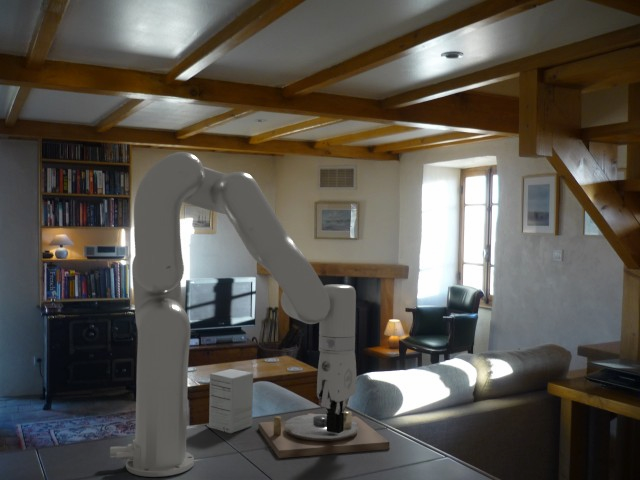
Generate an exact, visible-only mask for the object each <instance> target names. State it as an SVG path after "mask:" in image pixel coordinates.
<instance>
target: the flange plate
mask: <svg viewBox="0 0 640 480" xmlns="http://www.w3.org/2000/svg"><path fill="white" fill-rule="evenodd" d="M343 413H344V430H343V432H341V433H333V432H328V431H327V413H325V414H322V413H312V412H310V413H309V412H308V413H307V414H301V415H298V416H294V417H291V418H289V419H288V420H285V421H286V423H285V431H286V432H287V433H288V434H289V435H291V436H294V437H297V438H301V439H306V440H313V441H335V440H342V439H346V438H350V437H352V436H354V435H355V434H356V433H357V432H358V424H357V423H356V422H355V421H353V420H352V416H353V412H352V411H351V410H345V411H344V412H343Z"/></svg>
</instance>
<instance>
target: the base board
mask: <svg viewBox="0 0 640 480" xmlns="http://www.w3.org/2000/svg"><path fill="white" fill-rule="evenodd" d="M352 420H353V421H355V422H356V423H357V424H358V432H357V433H356V434H355V435H354V436H352V437H350V438H346V439H342V440H335V441H313V440H306V439H301V438H297V437H294V436H291V435H289V434H288V433H287V432H286V431H285V423H286V421H287V420H282V416H278V415H276V416H274V417H273V421H261V422H258V430H259V432H260V433H261V434H262V436H263V437H264V439H265V440H266V442H267V444H268V445H269V447H270V448H271V449H272V450H273V451H274V453H275V454H276V456H277V457H278V459H281V458H282V459H283V458H297V457H308V456H320V455H321V456H323V455H333V454H334V455H335V454H342V453H343V454H344V453H346V454H347V453H355V452H357V453H358V452H370V451H379V450H380V451H381V450H382V451H383V450H390V441H389V440H388V439H386V438H385V437H384V436H382V435H381V434H380V433H378V432H377V431H376V430H375V429H373V428H372V427H371V426H370V425H369V424H367V423H366V422H364V421H363V420H362V419H361V418H359V417H358V416H357V415H356V416H355V415H354V416H353V415H352Z"/></svg>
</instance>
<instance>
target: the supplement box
mask: <svg viewBox="0 0 640 480" xmlns="http://www.w3.org/2000/svg"><path fill="white" fill-rule="evenodd" d="M253 393H254V372H251V371H250V372H249V371H244V370H240V369H239V370H238V369H234V368H229V369H224V370H220V371H217V372H212V373H211V372H210V373H209V402H208V403H209V406H208V407H209V409H208V410H209V411H208V412H209V415H208V419H209V420H208V427H209V428H211V429H213V430H217V431H220V432H224V431H225V432H224V433H228V432H229V433H228V434H234V433H235V432H239V431H241V430H244V429H247V428H251V427H253V404H254V403H253V401H254V400H253V399H254V397H253V396H254V394H253Z"/></svg>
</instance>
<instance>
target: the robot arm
mask: <svg viewBox="0 0 640 480" xmlns="http://www.w3.org/2000/svg"><path fill="white" fill-rule="evenodd" d="M183 203H185V204H188V205H191V206H194V207H198V208H201V209H204V210H208V211H211V212H215V213H220V214H222V215H223V214H224V215H226V217H227V218H228V219H229V221H230V223H231V225H232V226H233V227H234V229H235V231H236V233H237V234H238V236H239V238H240V239H241V241H242V243H243V246H245V248H246V250H247V252H248V253H249V254H250V256H251V257H252V259H254V260H255V262H257V263H258V264H259V265H260V266H261V267H262V268H264V269H265V270H266V271H267V272H268V273H269V274H270V275H271V276H272V278H273V279H274V280H275V282H276V284H278V286H279V287H280V288H281V290H282V293H281V297H280V305H281V308H282V310H283V311H284V313H285V314H286V315H287V316H288V317H290V318H291V319H295V320H297V321H300V322H302V323H304V324H307V325H315V324H318V323H319V324H318V325H319V327H318V329H319V331H318V334H319V335H318V351H319V356H318V357H319V358H318V359H319V360H318V366H317V378H316V379H317V380H316V382H317V383H316V396H317V398H318V399H319V400H321V403H320V405H321V406H320V407H321V409H323V408H324V409H325V414H327V431H328V432H333V433H341V432H343V430H344V413H343V412H344V411H346V402H347V400H348V399H349V398H351V397H353V396H355V394H356V393H357V390H358V389H357V384H358V383H357V361H356V360H357V359H356V353H355V350H356V306H357V303H356V301H357V294H356V293H357V292H356V289H355V287H354V286H352V285H350V284H341V283H340V284H338V283H337V284H332V283H331V284H325V285H324V284H323V282H322V280H321V279H320V278H319V275H318V274H317V272H316V271H315V268H314V267H313V266H312V264H311V263H310V262H309V259H307V258H306V256H305V255H304V254H303V252H302V251H301V250H300V248H299V247H298V246H297V244H296V243H295V241H294V240H293V239H292V238H291V236H290V235H289V234H288V232H287V231H286V229H285V228H284V227H283V224H282V223H281V221H280V219H279V218H278V216H277V215H276V213H275V211H274V209H273V207H272V206H271V204H270V202H269V201H268V199H267V197H266V195H265V194H264V192H263V190H262V189H261V187H260V185H259V184H258V182H257V181H256V179H255V178H254V177H253V176H252V175H250V174H249V173H247V172H244V171H232V172H230V173H229V172H228V173H227V172H226V173H225V172H221V171H218V170H215V169H212V168H209V167H205V166H203V163H202V162H201V160H200V159H199V158H198V157H197V156H195V155H194V154H193V153H191V152H186V151H176V152H174V153H171V154H169V155H166V156H164V157H163V158H162V159H160V160H158V161H156V163H154V164H153V165H152V166H151V167H150V168H149V169H148V170H147V172H146V173H145V174H144V176H143V177H142V179H141V181H140V183H139V185H138V188H137V190H136V193H135V197H134V204H133V227H134V228H133V229H134V230H133V231H134V232H133V235H134V249H135V250H134V251H135V252H134V253H135V254H134V258H133V260H132V267H131V272H132V273H131V274H132V276H131V277H132V287H133V301H134V302H133V303H134V304H133V305H134V314H135V315H134V316H135V324H136V325H135V326H136V329H137V356H136V391H135V392H136V395H135V396H136V397H135V400H136V401H135V432H134V433H135V435H134V437H135V438H133V440H132V442H133V443H128V444H127V445H125V446H121V445H119V446H117V445H116V446H110V448H109V458H116V461H121V460H122V461H123V460H126V462H125V467H126V470H127V471H128V472H129V473H130V474H132V475H133V474H134V475H135V476H141V477H145V478H146V477H149V478H158V477H159V478H160V477H161V478H162V477H169V476H175V475H179V474H182V473H185V472H186V471H189V470H190V469H191V468H192V467H193V466H194V465H195V457H194V455H193V454H192V453H190V452H188V451H187V427H188V426H187V425H188V424H187V422H188V381H189V380H188V379H189V377H188V374H189V355H190V345H191V344H190V343H191V334H192V333H191V332H192V331H191V323H190V318H189V316H188V314H187V312H186V310H185V309H184V307H183V300H182V285H181V281H182V279H183V276H184V271H185V265H184V260H183V253H182V241H181V240H182V239H181V221H180V219H181V216H180V215H181V210H182V209H181V208H182V205H183Z"/></svg>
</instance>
